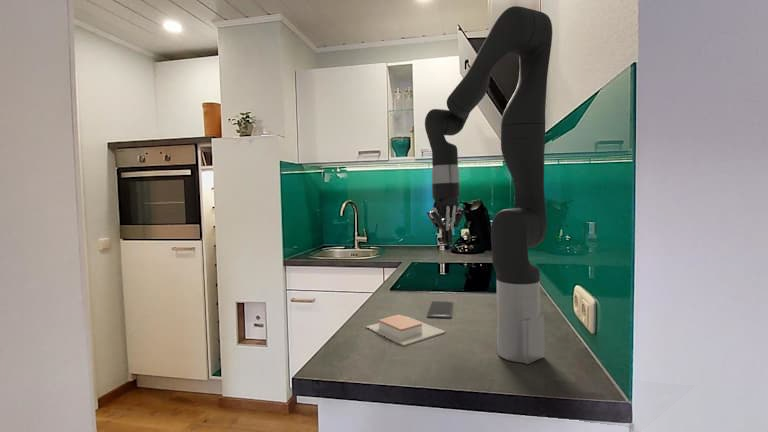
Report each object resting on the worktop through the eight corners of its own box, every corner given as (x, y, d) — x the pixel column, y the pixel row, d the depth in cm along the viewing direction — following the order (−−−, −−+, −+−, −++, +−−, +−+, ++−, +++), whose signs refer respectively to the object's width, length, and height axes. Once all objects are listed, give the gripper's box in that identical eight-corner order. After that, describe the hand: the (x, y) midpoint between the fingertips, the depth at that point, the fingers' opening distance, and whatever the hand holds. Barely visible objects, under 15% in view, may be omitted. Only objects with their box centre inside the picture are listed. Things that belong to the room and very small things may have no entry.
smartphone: (453, 301, 133) (451, 315, 117) (453, 304, 133) (451, 319, 117) (431, 301, 134) (426, 314, 119) (431, 304, 135) (426, 318, 119)
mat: (445, 332, 106) (445, 331, 106) (403, 346, 98) (403, 344, 98) (405, 317, 120) (405, 315, 120) (366, 327, 112) (366, 326, 112)
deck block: (422, 323, 105) (401, 329, 101) (422, 332, 105) (401, 339, 101) (398, 314, 113) (378, 319, 109) (399, 323, 113) (378, 328, 109)
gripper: (437, 181, 105) (439, 247, 106) (471, 181, 113) (473, 242, 114) (418, 182, 111) (420, 245, 112) (452, 182, 119) (454, 240, 120)
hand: (447, 243), depth 113 cm, fingers closed
